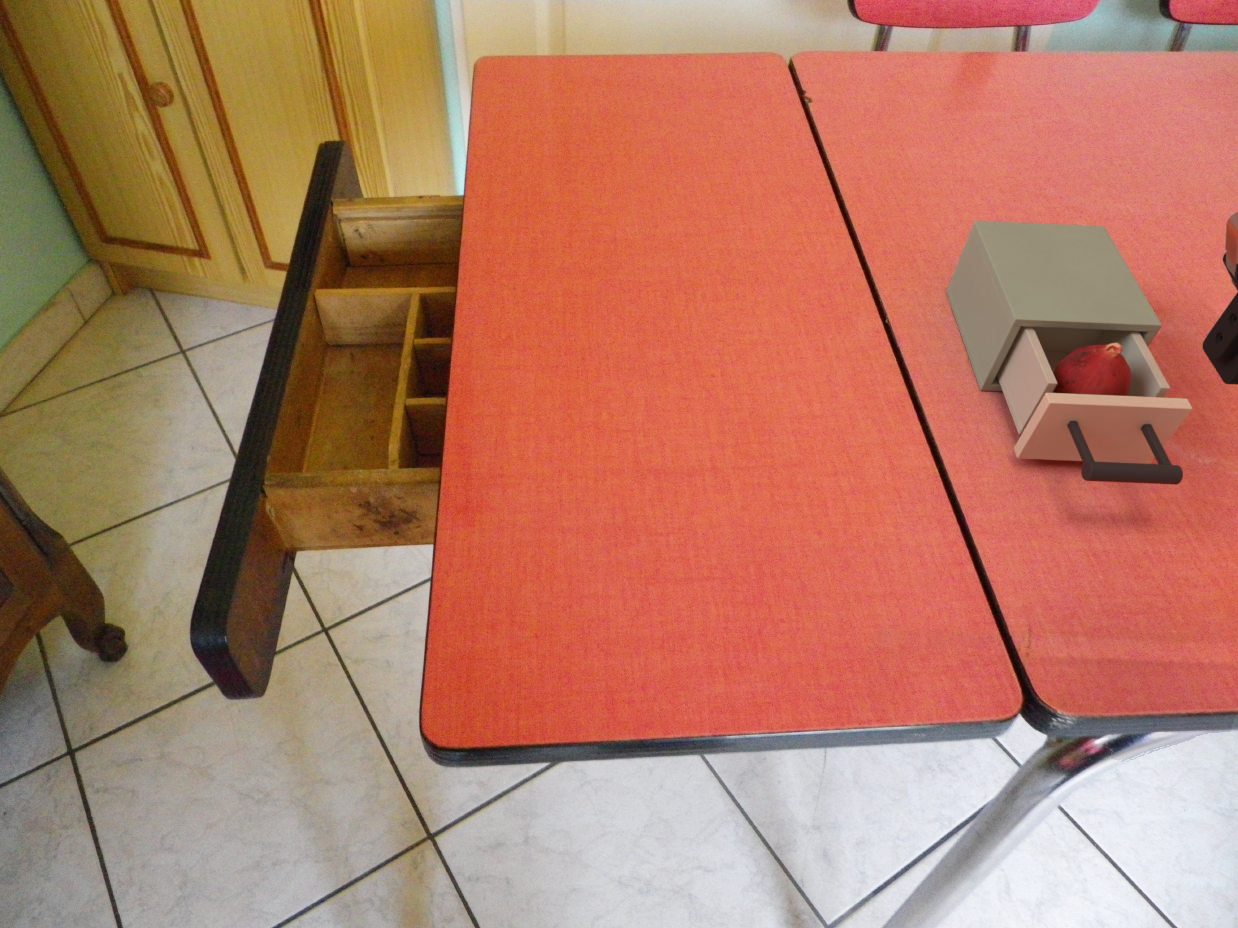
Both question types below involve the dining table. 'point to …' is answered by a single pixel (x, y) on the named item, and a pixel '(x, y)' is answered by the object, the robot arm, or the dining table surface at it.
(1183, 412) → the drawer
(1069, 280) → the cabinet
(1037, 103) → the dining table surface
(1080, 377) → the onion
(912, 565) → the dining table surface
